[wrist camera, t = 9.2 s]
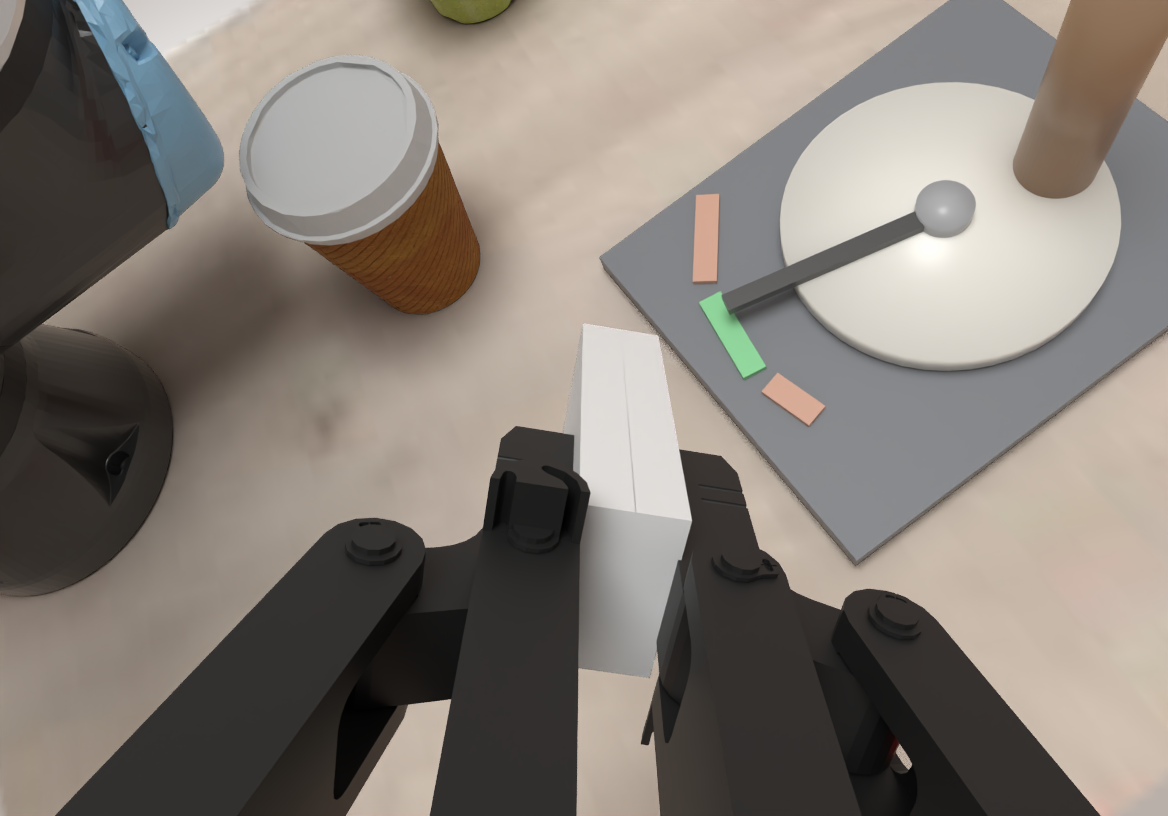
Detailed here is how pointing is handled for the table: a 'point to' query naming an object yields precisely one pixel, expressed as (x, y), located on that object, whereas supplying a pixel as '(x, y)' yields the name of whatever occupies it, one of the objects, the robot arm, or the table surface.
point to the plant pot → (470, 9)
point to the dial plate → (857, 380)
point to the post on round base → (967, 204)
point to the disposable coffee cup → (362, 180)
